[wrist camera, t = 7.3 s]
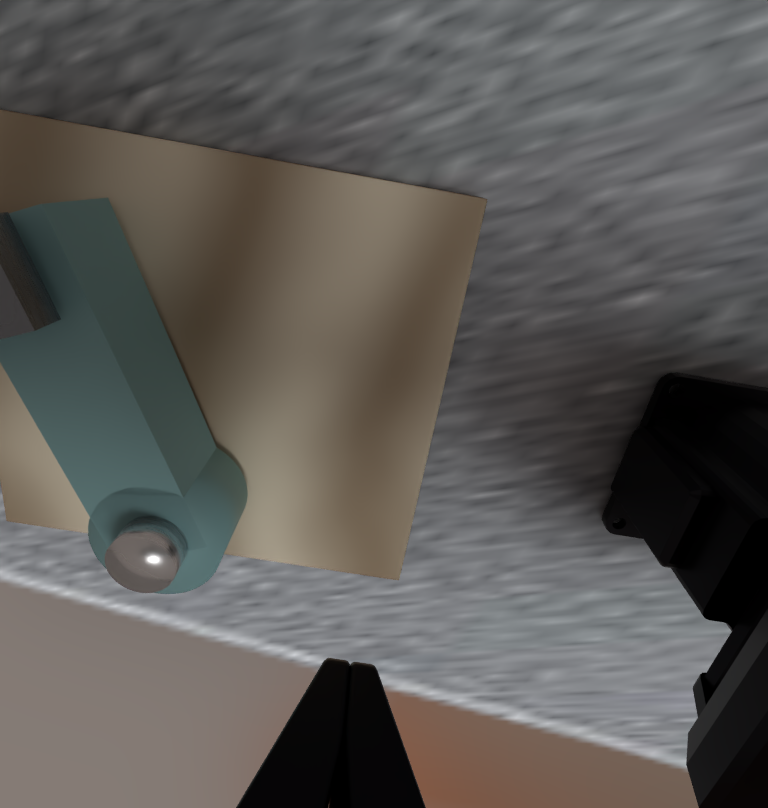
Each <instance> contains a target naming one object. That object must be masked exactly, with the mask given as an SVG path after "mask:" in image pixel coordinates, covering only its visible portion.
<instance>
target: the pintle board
mask: <svg viewBox="0 0 768 808" xmlns="http://www.w3.org/2000/svg"><path fill="white" fill-rule="evenodd" d="M98 198H108V199H109V201H110V203H111V206H112V208H113V210H114V213H115V215H116V217H117V219H118V222H119V224H120V226H121V229H122V231H123V233H124V236H125V238H126V240H127V242H128V245H129V247H130V249H131V252H132V254H133V256H134V259H135V261H136V263H137V265H138V268H139V270H140V272H141V275H142V277H143V279H144V282H145V284H146V286H147V288H148V291H149V293H150V295H151V298H152V300H153V302H154V305H155V307H156V309H157V311H158V314H159V316H160V318H161V321H162V323H163V325H164V328H165V330H166V332H167V334H168V337H169V339H170V341H171V344H172V346H173V348H174V351H175V353H176V355H177V357H178V360H179V362H180V364H181V367H182V369H183V371H184V374H185V376H186V378H187V380H188V383H189V385H190V387H191V390H192V392H193V394H194V397H195V399H196V401H197V403H198V406H199V408H200V410H201V413H202V415H203V417H204V420H205V422H206V424H207V426H208V429H209V431H210V433H211V436H212V438H213V440H214V443H215V445H216V447H217V448H218V449H220V450H221V451H223V452H224V453H226V454H227V455H228V456H229V457H230V458H231V459H232V460H233V461H234V462H235V463H236V464H237V466H238V467H239V469H240V470H241V472H242V474H243V476H244V478H245V481H246V485H247V492H248V497H247V503H246V506H245V509H244V511H243V513H242V516H241V518H240V520H239V522H238V524H237V526H236V529H235V531H234V533H233V535H232V537H231V539H230V542H229V544H228V546H227V548H226V550H225V552H224V554H228V555H235V556H241V557H248V558H254V559H261V560H268V561H274V562H281V563H288V564H294V565H301V566H307V567H314V568H321V569H327V570H334V571H340V572H347V573H354V574H360V575H367V576H373V577H380V578H387V579H393V580H399V577H400V573H401V569H402V565H403V560H404V556H405V552H406V547H407V543H408V539H409V534H410V530H411V526H412V522H413V517H414V513H415V509H416V504H417V500H418V496H419V491H420V487H421V483H422V479H423V474H424V470H425V466H426V461H427V457H428V453H429V448H430V444H431V440H432V436H433V431H434V427H435V423H436V418H437V414H438V410H439V405H440V401H441V397H442V393H443V388H444V384H445V380H446V375H447V371H448V367H449V362H450V358H451V354H452V350H453V345H454V341H455V337H456V332H457V328H458V324H459V319H460V315H461V311H462V307H463V302H464V298H465V294H466V289H467V285H468V281H469V276H470V272H471V268H472V264H473V259H474V255H475V251H476V246H477V242H478V238H479V233H480V229H481V225H482V221H483V216H484V212H485V208H486V203H487V199H484V198H481V197H476V196H470V195H465V194H459V193H454V192H448V191H443V190H438V189H432V188H427V187H421V186H416V185H410V184H405V183H399V182H394V181H388V180H383V179H378V178H372V177H367V176H361V175H356V174H350V173H345V172H339V171H334V170H328V169H323V168H318V167H312V166H307V165H301V164H296V163H290V162H285V161H279V160H274V159H268V158H263V157H258V156H252V155H247V154H241V153H236V152H230V151H225V150H219V149H214V148H208V147H203V146H198V145H192V144H187V143H181V142H176V141H170V140H165V139H159V138H154V137H149V136H143V135H138V134H132V133H127V132H121V131H116V130H110V129H105V128H99V127H94V126H89V125H83V124H78V123H72V122H67V121H61V120H56V119H50V118H45V117H39V116H34V115H29V114H23V113H18V112H12V111H7V110H1V109H0V339H4V338H8V337H12V336H16V335H20V334H24V333H28V332H33V331H36V330H38V329H40V328H43V327H45V326H47V325H49V324H52V323H54V322H56V321H59V320H61V318H60V316H59V314H58V312H57V310H56V308H55V306H54V304H53V302H52V300H51V298H50V295H49V293H48V291H47V289H46V287H45V285H44V283H43V281H42V279H41V277H40V275H39V273H38V271H37V269H36V267H35V265H34V263H33V261H32V259H31V257H30V255H29V253H28V251H27V249H26V247H25V245H24V243H23V241H22V239H21V237H20V235H19V233H18V231H17V229H16V227H15V225H14V223H13V221H12V219H11V217H10V215H9V213H12V212H15V211H19V210H22V209H25V208H29V207H32V206H35V205H39V204H45V203H56V202H66V201H77V200H87V199H98ZM0 481H1V487H2V494H3V500H4V506H5V513H6V519H7V521H10V522H16V523H23V524H30V525H36V526H43V527H50V528H56V529H63V530H69V531H76V532H83V533H88V524H89V519H90V517H89V515H88V513H87V511H86V510H85V508H84V506H83V504H82V503H81V501H80V499H79V498H78V496H77V494H76V492H75V491H74V489H73V487H72V485H71V484H70V482H69V480H68V479H67V477H66V475H65V473H64V472H63V470H62V468H61V466H60V465H59V463H58V461H57V460H56V458H55V456H54V454H53V453H52V451H51V449H50V448H49V446H48V444H47V442H46V441H45V439H44V437H43V435H42V434H41V432H40V430H39V429H38V427H37V425H36V423H35V422H34V420H33V418H32V416H31V415H30V413H29V411H28V410H27V408H26V406H25V404H24V403H23V401H22V399H21V397H20V396H19V394H18V392H17V391H16V389H15V387H14V385H13V384H12V382H11V380H10V378H9V377H8V375H7V373H6V372H5V370H4V368H3V366H2V365H1V363H0Z"/></svg>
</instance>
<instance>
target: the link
mask: <svg viewBox="0 0 768 808" xmlns="http://www.w3.org/2000/svg"><path fill="white" fill-rule="evenodd" d="M9 215H10V217H11V219H12V221H13V223H14V225H15V227H16V229H17V231H18V233H19V235H20V237H21V239H22V241H23V243H24V245H25V247H26V249H27V251H28V253H29V255H30V257H31V259H32V261H33V263H34V265H35V267H36V269H37V271H38V273H39V275H40V277H41V279H42V281H43V283H44V285H45V287H46V289H47V291H48V293H49V295H50V298H51V300H52V302H53V304H54V306H55V308H56V310H57V312H58V314H59V316H60V318H61V320H59V321H56V322H54V323H52V324H49V325H47V326H45V327H43V328H40V329H38V330H36V331H33V332H28V333H24V334H20V335H16V336H12V337H8V338H4V339H0V363H1V365H2V366H3V368H4V370H5V372H6V373H7V375H8V377H9V378H10V380H11V382H12V384H13V385H14V387H15V389H16V391H17V392H18V394H19V396H20V397H21V399H22V401H23V403H24V404H25V406H26V408H27V410H28V411H29V413H30V415H31V416H32V418H33V420H34V422H35V423H36V425H37V427H38V429H39V430H40V432H41V434H42V435H43V437H44V439H45V441H46V442H47V444H48V446H49V448H50V449H51V451H52V453H53V454H54V456H55V458H56V460H57V461H58V463H59V465H60V466H61V468H62V470H63V472H64V473H65V475H66V477H67V479H68V480H69V482H70V484H71V485H72V487H73V489H74V491H75V492H76V494H77V496H78V498H79V499H80V501H81V503H82V504H83V506H84V508H85V510H86V511H87V513H88V515H89V517H90V519H89V524H88V536H89V541H90V544H91V547H92V549H93V551H94V553H95V555H96V557H97V558H98V560H99V561H100V562H101V563H102V565H103V566H104V567H105V568H106V569H107V571H108V573H109V574H110V576H111V577H112V578H113V579H114V580H115V581H116V582H118V583H119V584H120V585H122V586H123V587H125V588H127V589H130V590H132V591H136V592H141V593H160V594H176V593H182V592H187V591H190V590H193V589H195V588H197V587H199V586H201V585H203V584H204V583H205V582H207V581H208V580H209V579H210V578H211V577H212V576H213V574H214V573H215V571H216V570H217V568H218V566H219V563H220V561H221V559H222V557H223V555H224V552H225V550H226V548H227V546H228V544H229V542H230V539H231V537H232V535H233V533H234V531H235V529H236V526H237V524H238V522H239V520H240V518H241V516H242V513H243V511H244V509H245V506H246V503H247V497H248V492H247V485H246V481H245V478H244V476H243V474H242V472H241V470H240V469H239V467H238V466H237V464H236V463H235V462H234V461H233V460H232V459H231V458H230V457H229V456H228V455H227V454H226V453H224V452H223V451H221V450H220V449H218V448H217V447H216V445H215V443H214V440H213V438H212V436H211V433H210V431H209V429H208V426H207V424H206V422H205V420H204V417H203V415H202V413H201V410H200V408H199V406H198V403H197V401H196V399H195V397H194V394H193V392H192V390H191V387H190V385H189V383H188V380H187V378H186V376H185V374H184V371H183V369H182V367H181V364H180V362H179V360H178V357H177V355H176V353H175V351H174V348H173V346H172V344H171V341H170V339H169V337H168V334H167V332H166V330H165V328H164V325H163V323H162V321H161V318H160V316H159V314H158V311H157V309H156V307H155V305H154V302H153V300H152V298H151V295H150V293H149V291H148V288H147V286H146V284H145V282H144V279H143V277H142V275H141V272H140V270H139V268H138V265H137V263H136V261H135V259H134V256H133V254H132V252H131V249H130V247H129V245H128V242H127V240H126V238H125V236H124V233H123V231H122V229H121V226H120V224H119V222H118V219H117V217H116V215H115V213H114V210H113V208H112V206H111V203H110V201H109V199H108V198H98V199H87V200H77V201H66V202H56V203H45V204H39V205H35V206H32V207H29V208H25V209H22V210H19V211H15V212H12V213H9Z"/></svg>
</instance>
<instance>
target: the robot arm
mask: <svg viewBox="0 0 768 808" xmlns="http://www.w3.org/2000/svg"><path fill="white" fill-rule="evenodd" d="M675 384H679V387H678V389H677V390H676V391H675V392H673V393H669V389H670V388H671V386H673V385H675ZM611 490H612V494H611V497H610V499H609V501H608V504H607V506H606V509H605V511H604V513H603V517H602V521H603V523H604V525H605V527H606V529H607V530H608V531H609V532H610V533H613V534H616V535H623V536H629V537H635V538H642V539H644V540H645V542H646V543H647V545H648V546H649V548H650V549H651V551H652V552H653V554H654V555H655V557H656V558H657V560H658V561H659V563H660V564H661V565H662V566H663V567H669V568H671V569H672V570H673V572H674V573H675V575H676V576H677V578H678V579H679V581H680V582H681V584H682V585H683V587H684V588H685V590H686V591H687V593H688V594H689V595H690V597H691V598H692V600H693V601H694V603H695V604H696V606H697V607H698V609H699V610H700V612H701V613H702V615H703V616H704V618H706V619H708V620H712V621H719V622H724V623H726V624H727V625H728V627H729V628H730V629H731V631H732V632H731V634H730V636H729V637H728V639H727V640H726V642H725V644H724V645H723V647H722V649H721V650H720V652H719V653H718V655H717V657H716V658H715V660H714V662H713V663H712V665H711V666H710V668H709V670H708V671H707V673H702V674H700V676H699V678H698V679H697V681H696V682H695V684H694V686H693V692H694V698H695V703H696V709H697V714H698V719H697V720H696V722H695V723H694V725H693V726H692V728H691V730H690V731H689V733H688V746H687V763H686V765H687V768H688V772H689V775H690V778H691V781H692V785H693V789H694V792H695V796H696V799H697V802H698V806H699V808H768V388H763V387H757V386H751V385H745V384H740V383H734V382H728V381H722V380H716V379H710V378H705V377H699V376H693V375H687V374H681V373H669V374H666V375H664V376H663V377H662V378H661V379H660V380H659V381H658V383H657V385H656V387H655V390H654V392H653V395H652V397H651V400H650V402H649V404H648V407H647V409H646V412H645V414H644V416H643V419H642V421H641V424H640V426H639V427H638V428H637V429H636V430H635V431H634V432H633V434H632V437H631V439H630V442H629V444H628V446H627V449H626V451H625V454H624V456H623V459H622V461H621V464H620V466H619V468H618V471H617V473H616V476H615V478H614V481H613V483H612V486H611ZM618 518H622V519H621V520H620V521H619V522H617V523H613V522H614V520H616V519H618ZM328 805H329V808H426V807H425V804H424V802H423V798H422V796H421V793H420V790H419V787H418V784H417V782H416V779H415V776H414V773H413V770H412V767H411V765H410V762H409V759H408V756H407V753H406V750H405V748H404V745H403V742H402V739H401V737H400V733H399V731H398V728H397V725H396V722H395V719H394V717H393V714H392V711H391V708H390V705H389V702H388V699H387V697H386V694H385V691H384V688H383V685H382V682H381V680H380V677H379V674H378V671H377V669H376V667H375V666H374V665H372V664H366V663H359V662H353V663H351V665H350V664H349V662H348V661H346V660H340V659H333V658H327V659H326V660H325V661H324V662H323V663H322V665H321V667H320V668H319V670H318V672H317V673H316V675H315V677H314V679H313V680H312V682H311V684H310V685H309V687H308V689H307V690H306V692H305V694H304V695H303V697H302V699H301V700H300V702H299V704H298V705H297V707H296V709H295V710H294V712H293V714H292V715H291V717H290V719H289V720H288V722H287V724H286V725H285V727H284V729H283V731H282V732H281V734H280V735H279V737H278V739H277V741H276V742H275V744H274V745H273V747H272V749H271V750H270V752H269V754H268V756H267V757H266V759H265V760H264V762H263V764H262V765H261V767H260V769H259V770H258V772H257V774H256V776H255V777H254V779H253V781H252V782H251V784H250V786H249V787H248V789H247V790H246V792H245V794H244V795H243V797H242V799H241V801H240V802H239V804H238V806H237V807H236V808H328Z"/></svg>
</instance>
